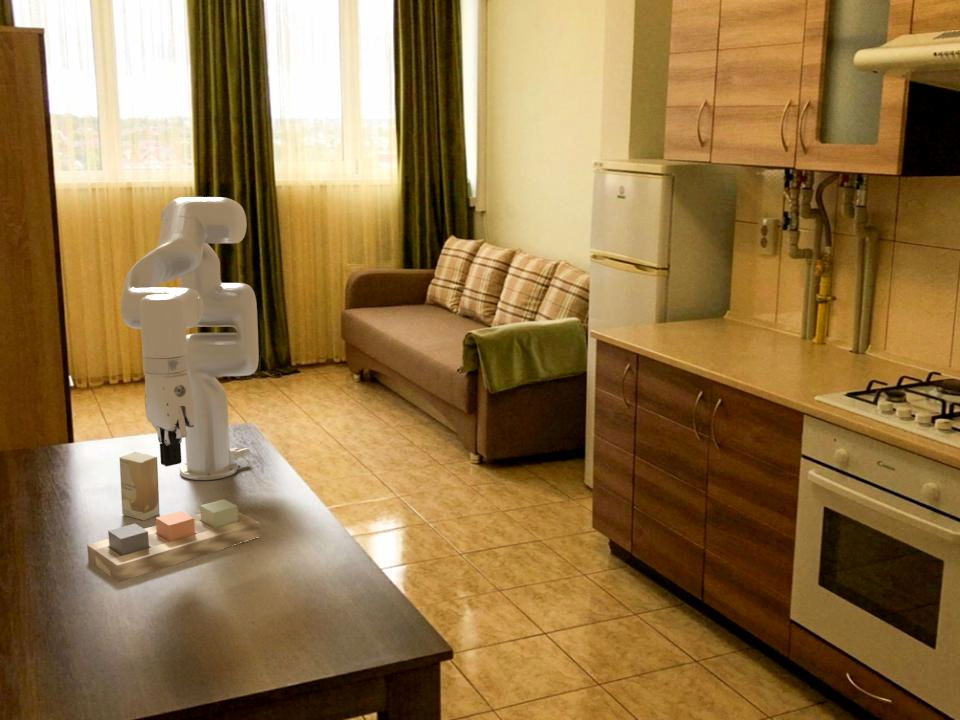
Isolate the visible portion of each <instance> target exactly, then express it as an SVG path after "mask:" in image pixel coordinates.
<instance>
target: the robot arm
mask: <svg viewBox="0 0 960 720" xmlns="http://www.w3.org/2000/svg"><path fill="white" fill-rule="evenodd" d="M160 222H161V226H160V230H159V232H160V233H159V237H158V242H157V247H155V248H154V249H153V250H151V251H149V252H148V253H146V254H145V255H144V256H142V257H141V258H140V259H139V260H137V261H136V262H135V263H134V264H133V266H131V267H130V269H129V270H128V272H127V274H126V277H125V279H124V284H123V288H122V292H121V298H120V310H119V311H120V316H121V319H122V320H123V323H124V324H125V325H126V326H128V327H129V328H131V329H135V330H140V335H141V338H140V339H141V349H142V368H143V371H142V372H143V376H145V377H144V403H145V404H144V406H145V416H146V420H147V421H148V422H149V423H151V425H152V427H153V428H154V429H155V430H156V434H157V440H158V443H159V454H160V457H159V458H160V464H161V465H163V466H164V467H172V466H176V465H178V464H179V465H180V464H182V446H181V443H183V442H182V440H183V438H184V439H185V440H184V441H185V458H186V460H185V461H186V463H183V464H182V465H181V466H180V468H179V475H180V476H182V477H183V478H185V479H188V480H195V481H213V480H220V479H223V478H227V477H230V476H232V475H234V474H235V473H236V472H238V468H239V467H238V462H236V461H237V460H238V459H239V458H241V459H242V458H246V457H249V456H250V449H249V447H244V448H240V449H239V448H238V447H233V448H231V447H230V445H231V444H230V426H229V425H230V424H229V422H230V421H229V406H228V405H229V402H228V394H227V391H226V389H225V388H224V386H223V385H222V384H221V382H219V380H218V379H217V377H218V378H219V377H244V376H251V375H252V374H255V372H256V371H257V369H258V368H259V367H258V366H259V359H260V358H259V357H260V356H259V353H260V352H259V349H260V348H259V328H258V326H259V325H258V309H257V308H258V307H257V305H258V303H257V298H256V294H255V291H254V290H253V288H252V287H251V285H249V284H247V283H243V282H222V280H221V261H220V258H219V257H218V254H217V253H216V252H215V251H214V249H213V248H212V247H211V246H210V244H240V242H241V241H243V239H244V238H245V237H246V236H245V235H246V233H247V225H248V223H247V216H246V212H245V210H244V208H243V206H242V205H241V204H240V203H239V202H237V201H236V200H233V199H231V198H228V197H221V196H219V197H218V196H217V197H215V196H212V197H211V196H207V197H206V196H205V197H204V196H195V197H194V196H187V197H186V196H185V197H184V196H183V197H177V198H174V199H172V200H171V201H169V202H168V204H167V205H165V207H163V208H162V210H161V213H160ZM176 279H179V285H180V286H179V287H166V286H165V287H164V286H163V287H158V285H161V284H165V283H168V282H170V281H173V280H176ZM194 327H206V328H209V327H211V328H215V327H216V328H217V327H227V328H228V327H231V328H234V329H235V331H236V332H196V333H190V334H187V332H186V331H187V330H188V329H192V328H194Z"/></svg>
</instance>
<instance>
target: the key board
mask: <svg viewBox="0 0 960 720" xmlns="http://www.w3.org/2000/svg"><path fill="white" fill-rule="evenodd" d="M190 516H191V517H193V518H194V523H195V535H191V536H188V537H185V538H181V539H178V540H174V541H171V542H168V541H167V540H165V539H163V538H162V537H160V536H158V535H157V530H156V525H153V526H150V527H146V528H144V529H145V530H147V531H148V539H149V548H147V549H144V550H140V551H137V552H134V553H130V554H127V555H123V556H120V555H119V554H117V553H116V552H114V551H113V550H111V549H110V548H109V538H105V539H101V540H99V541H96V542H95V541H94V542H92V543H89V544H88V543H87V544H86V547H87V558H88V561H89V563H92V564H93V565H94V566H95V567H96V568H98V569H100V570H101V571H103V572H104V573H105V574H107V575H108V576H110V577H111V578H113V579H114V580H115V581H117V582H118V583H119V582H122V581H125V580H129V579H133V578H135V577H138V576H141V575H145V574H149V573H152V572H154V571H158V570H161V569H165V568H167V567H170V566H174V565H177V564H181V563H183V561H184V562H188V561H190V560H193V559H197V558H199V556H200V557H203V556H206V555H209V553H210V554H213V553H216V552H219V551H221V549H222V550H225V549H224V548H226V549H228V548H227V547H229V546H232V545H234V544H238V543H240V542H244V541H246V540H250V539H253V538H256V537H260V538H261V523H260V522H259V521H257V520H255V519H254V518H251V517H249V516H247V515H246V514H243V513H242V512H240V511H238V522H236V523H232V524H229V525H225V526H222V527H219V528H215V529H213V528H212V527H210V526H208V525H206V524H204V523H202V522H201V512H199V513H196V514H192V515H190ZM238 545H239V544H238ZM232 547H233V546H232ZM229 548H230V547H229ZM215 551H216V552H215ZM212 552H213V553H212ZM202 555H203V556H202ZM196 557H197V558H196ZM192 558H193V559H192ZM189 559H190V560H189ZM180 562H181V563H180Z"/></svg>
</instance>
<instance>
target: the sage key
mask: <svg viewBox="0 0 960 720" xmlns="http://www.w3.org/2000/svg"><path fill="white" fill-rule="evenodd" d="M199 507H200V508H199V509H200V513H201V522H202V523H204V524H206V525H208V526H210V527H212V528H213V529H215V528H219V527H222V526H225V525H229V524H232V523H236V522H238V512H239V508H238V505H236V504H234V503H232V502H230V501H229V500H227V499H224V498H222V499H219V500H216V501H212V502H209V503H205V504H200V506H199Z"/></svg>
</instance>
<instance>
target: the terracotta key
mask: <svg viewBox="0 0 960 720" xmlns="http://www.w3.org/2000/svg"><path fill="white" fill-rule="evenodd" d="M191 516H192V515H189V514H187V513H185V512H184V511H182V510H179V511H176V512H172V513H168V514H165V515H160V516H156V517H155V526H156V530H157V535H158V536H160V537H162V538H163V539H165V540H167V541H168V542H171V541H174V540H178V539H181V538H185V537H188V536H191V535H195V523H194V518H193V517H191Z"/></svg>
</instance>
